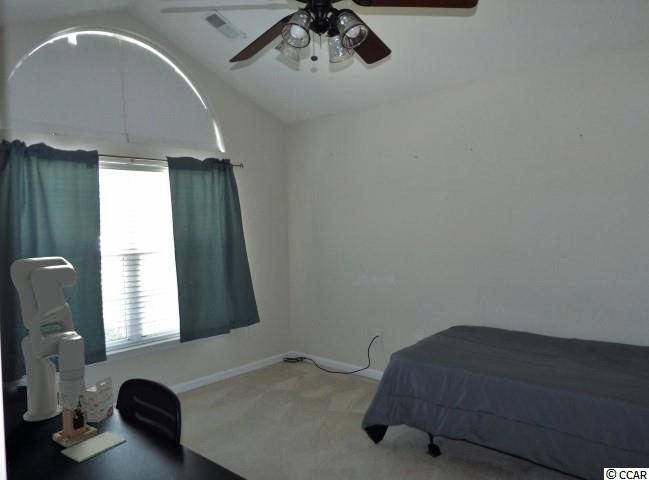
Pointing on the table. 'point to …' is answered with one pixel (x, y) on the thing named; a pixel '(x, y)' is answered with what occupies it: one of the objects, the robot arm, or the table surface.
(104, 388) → the ink cartridge box
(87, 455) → the sage pad
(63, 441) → the pocket frame
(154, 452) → the table surface
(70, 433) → the terracotta block
